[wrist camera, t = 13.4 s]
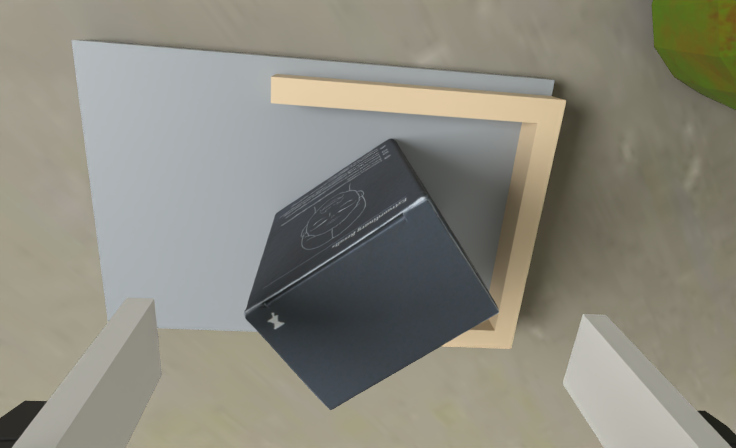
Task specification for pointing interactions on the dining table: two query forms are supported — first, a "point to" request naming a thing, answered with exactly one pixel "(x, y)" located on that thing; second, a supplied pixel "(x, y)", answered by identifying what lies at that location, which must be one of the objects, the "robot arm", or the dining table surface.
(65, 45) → the dining table surface
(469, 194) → the dock
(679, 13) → the apple
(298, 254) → the box
